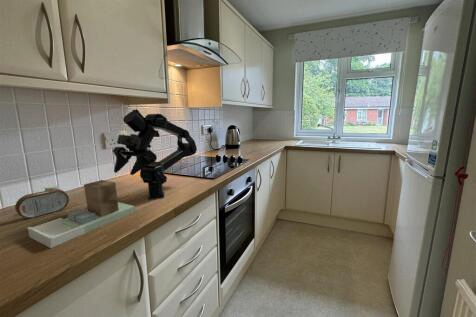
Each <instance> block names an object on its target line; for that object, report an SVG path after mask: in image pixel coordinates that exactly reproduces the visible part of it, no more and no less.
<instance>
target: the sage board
mask: <svg viewBox="0 0 476 317" xmlns="http://www.w3.org/2000/svg"><path fill="white" fill-rule="evenodd" d="M118 208H119V210H118V211H116V212H113V213H111V214H108V215H106V216H103V217H100V216H97V215H96V220H94V221H91V222H89V223H86V224H84V225H82V224H80V223H77V222H74V221H72V220H69V219H68V217H66V218H62V221H63V225H66V226H68V227H71V228H73V229H75V228H78V227H80V226H84V233H85V234H86V233H88V232H91V231H93V230H95V229H98V228H99V227H102V226H105V225H107V224H110V223H111V222H115V221H116V220H118V219H121V218H123V217H126V216H128V215H130V214H133V213H135V212H136V206H135V205H131V204H127V203H123V202H119V201H118ZM86 211H87V212H88V210H86Z"/></svg>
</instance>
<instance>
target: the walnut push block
mask: <svg viewBox="0 0 476 317" xmlns="http://www.w3.org/2000/svg"><path fill="white" fill-rule="evenodd" d="M83 188H84V195H85V201H86V208H87V211H89V212H92V213H95V215H97V216H100V217H103V216H106V215H108V214H111V213H113V212H116V211H118V210H119V208H118V202H119V201H118V200H119V199H118V195H117V194H118V193H117V187H116V182H113V181H110V180H109V181H108V180H104V179H101V180H96V181H93V182H89V183H88V182H87V183H85V184H83Z"/></svg>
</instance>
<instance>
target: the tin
mask: <svg viewBox="0 0 476 317" xmlns="http://www.w3.org/2000/svg"><path fill="white" fill-rule="evenodd" d="M69 201H70V198H69V195H68V194H67V193H66V191H64V190H63V189H60V188H58V189H52V190H47V191H45V190H43V191H37V192H33V193H27V194H24V195H23V196H21V197H20V198H18V200H16V203H15V205H14V208H15V212H16V213H17V214H18V215H19V216H20V217H22V218H24V219H34V218H38V217H42V216H46V215H50V214H54V213H58V212H60V211H63V209H65V208H66V207H67V206H68V204H69Z"/></svg>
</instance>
